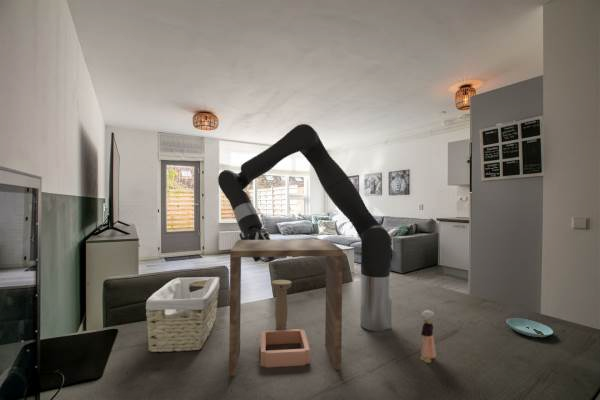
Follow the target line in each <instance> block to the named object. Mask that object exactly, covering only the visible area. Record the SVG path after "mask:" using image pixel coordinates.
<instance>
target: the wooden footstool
mask: <svg viewBox="0 0 600 400" xmlns="http://www.w3.org/2000/svg"><path fill="white" fill-rule="evenodd" d="M229 253H230V254H229V255H230V259H229V260H230V262H229V265H230V266H229V267H230V268H229V334H228V335H229V339H228V340H229V341H228V342H229V345H228V347H229V351H228V352H229V353H228V354H229V355H228V358H229V360H228V368H229V369H228V377H236V376H237V369H238V365H239V364H238V363H239V358H240V351H241V313H242V312H241V310H242V309H241V303H242V302H241V299H242V298H241V297H242V296H241V293H242V292H241V290H242V285H241V284H242V283H241V282H242V258H253V257H261V258H268V257H275V258H279V257H282V258H283V257H286V258H287V257H293V258H294V257H325V319H324V320H325V321H324V322H325V326H324V327H325V328H324V329H325V330H324V333H325V334H324V335H325V336H324V339H325V341H324V346H325V349H326V351H327V352H328V353H327V354H328V356H329V358H330V361H331V363H332V366H333V368H334V370H335V371H339V370H340V371H341V370H342V339H343V338H342V335H343V334H342V328H343V327H342V326H343V324H342V323H343V318H342V317H343V314H342V313H343V249H342V248H340V246H337V244H335V243H333V242H331V241H330V240H328V239H270V240H241V239H237V240H236V242H235V243H234V245H233V246H232V248H231V249H230V251H229Z"/></svg>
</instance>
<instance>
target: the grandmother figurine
mask: <svg viewBox="0 0 600 400" xmlns="http://www.w3.org/2000/svg"><path fill="white" fill-rule="evenodd" d="M420 316H421V318H422V319H423V321H424V323H423V325H422V330H421V334H420V339H419V341H420V343H422V345H421V356H420V357H419V358H420V360H421V361H423V362H425V363H428V364H430V363H432V360H434V359H435V358H436V357H437V352H436V346H435V339H434V326H433V323H434V321H435V313H434V312H433V311H432V310H430V309H425V310H423V311H422V313H421V314H420Z"/></svg>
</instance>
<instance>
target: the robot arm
mask: <svg viewBox="0 0 600 400" xmlns="http://www.w3.org/2000/svg"><path fill="white" fill-rule="evenodd" d="M299 152H300V154H302V156H304V157H305V159H306V160H307V162H309V164H310V165H311V167H312V168H313V170H314V172H315V174H316V176H317V178H318V180H319V183H320V184H321V187H322V189H323V190H324V192H325V193H326V194H327V196H328V197H329V199H330V200H331V202H332V203H333V204H334V205H335V206H336V207H337V209H338V210H339V211H340V212H341V213H342V215H344V216H345V217H346V219H348V220H349V222H350V223H351V224H352V226H353V228H354V230H355V231H356V233H357V235H358V237H359V238H360V241H361V243H360V244H361V246H360V249H361V250H360V252H361V253H360V257H361V259H360V320H359V322H360V324H359V325H360V326H361V327H362V328H363V329H366V331H367V330H368V331H371V332H384V331H387V330H390V329H391V330H392V324H393V323H392V319H393V317H392V316H393V315H392V314H393V313H392V311H393V310H392V308H393V306H392V305H393V300H392V298H390V273H391V272H390V270H391V265H392V264H391V262H392V261H391V260H392V259H391V256H392V240H391V239H392V238H391V235H390V233H389V232H388V231H387V230H386V228H384V227H383V226H382V225H381V224H380V223H379V222H378V221H377V220H376V218H375V217H374V216H373V215H372V213H371V212H370V211H369V209H368V208H367V206H366V205H365V202H364V200H363V199H362V196H361V194H360V193H359V191H358V189H357V188H356V186H355V185H354V183H353V181H352V180H351V179H350V178H349V176H348V175H347V174H346V172H345V171H344V169H342V167H340V165H339V164H338V163H337V162H336V161H335V160H334V159H333V158H332V156H331V155H330V154H329V153H328V151H327V149H326V147H325V146H324V144H323V142H322V139H320V135H319V134H318V132H317V131H316V130H315V129H314V128H313V126H312V125H310V124H307V123H299V124H297V125H296V126H294V127H293V128H292V129H290V131H288V132H287V133H286V134H284V136H283V137H281V138H280V139H279V140H277V141H276V142H275V143H274V144H272V145H271V146H269V147H268V148H266V149H265V150H263V151H261V152H260V153H258V154H256V155H255V156H254V157H252V158H250V159H248V160H247V161H244V163H242V164H241V166H240V172H238V173H236V172H234V171H233V170H230V169H224V170H222V171H221V172H220V173H219V174H218V177H217V183H218V186H219V188H220V190H221V192H222V193H223V195H224V196H225V197H226V199H227V200H228V202H229V204H230V207H231V209H232V211H233V214H234V218H235V220H236V222H237V225H238V228H239V230H240V233H239V238H240V240H271V237H270V236H269V234H268V232H265V233H263V232H262V227H263V224H262V221H261V220H260V217H259V215H258V213H257V210H256V208H255V207H254V205H253V204H252V200H251V199H250V197H249V194H247V192H246V191H245V190H244V189H246V188H247V187H248V186H249V185H250V184H251V183H252V182H253V181H254V180H256V179H257V178H259V177H261V176H262V175H264V174H266V173H267V172H269V171H271V170H272V169H273V168H274V167H275V166H276V165H277V164H279V162H281V161H283V160H284V159H285V158H287V157H289V156H292V155H294V154H295V153H296V154H297V153H299ZM252 259H253V261H254V262H255V263H257V262H259V261H261V259H262V257H252ZM267 259H268V261H269V262H272V261H274V260H275V259H276V257H267Z"/></svg>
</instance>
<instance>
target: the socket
mask: <svg viewBox="0 0 600 400" xmlns="http://www.w3.org/2000/svg"><path fill="white" fill-rule="evenodd" d="M260 333H261V335H260V339H261V340H260V367H265V368H276V367H278V368H279V367H280V368H281V367H294V366H295V367H296V366H305V365H306V364H308V365H309V364H310V363H311V359H310V358H311V348H310V345H309V341H308V338H307V335H306V332H305V329H300V328H296V329H294V328H293V329H283V330H279V329H271V330H265V331H261V332H260ZM282 344H283V345H286V344H300V347H301V348H296V349H295V348H293V349H290V348H289V349H275V350H274V349H273V350H272V349H271V350H266V347H267V345H282Z"/></svg>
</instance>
